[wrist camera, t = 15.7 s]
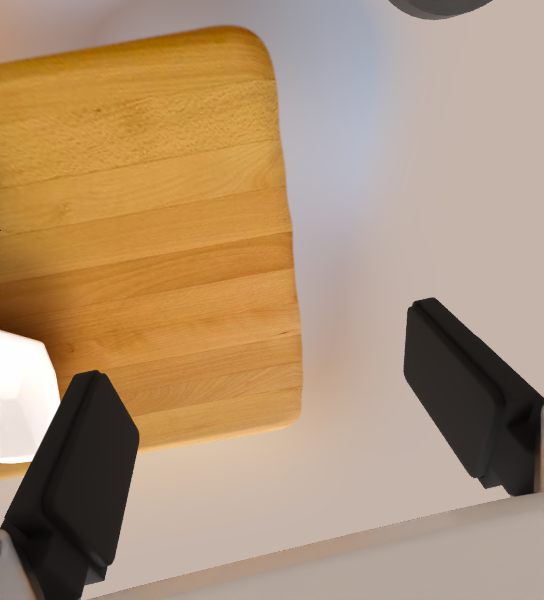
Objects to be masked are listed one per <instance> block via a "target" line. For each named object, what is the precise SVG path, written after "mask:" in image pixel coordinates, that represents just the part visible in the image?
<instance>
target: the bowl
mask: <svg viewBox="0 0 544 600" xmlns="http://www.w3.org/2000/svg"><path fill="white" fill-rule="evenodd" d="M60 403H61V402H60V396H59V390H58V384H57V378H56V373H55V370H54V368H53V365H52V363H51V360H50V358H49V355H48V353H47V350H46V348H45V345H44V344H43V342H41V341H37V340H34V339H30V338H27V337H23V336H20V335H16V334H13V333H9V332H6V331H3V330H0V463H20V462H29V461H32V460H33V458H34V456H35V454H36V452H37V450H38V448H39V446H40V444H41V442H42V440H43V438H44V435H45V433H46V431H47V429H48V427H49V425H50V423H51V421H52V419H53V417H54V415H55V413H56V411H57V409H58V407H59V405H60Z"/></svg>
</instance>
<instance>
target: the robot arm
mask: <svg viewBox="0 0 544 600" xmlns="http://www.w3.org/2000/svg"><path fill="white" fill-rule="evenodd" d="M404 376H405V378H406V380H407V382H408V384H409V385H410V387H411V388H412V390H413V391H414V393H415V394H416V396H417V397H418V399H419V400H420V402H421V403H422V405H423V406H424V408H425V409H426V411H427V412H428V413H429V415H430V417H431V418H432V420H433V421H434V423H435V424H436V426H437V427H438V428H439V430H440V432H441V433H442V435H443V436H444V438H445V439H446V441H447V442H448V444H449V445H450V447H451V448H452V450H453V451H454V453H455V454H456V455H457V457H458V459H459V460H460V462H461V463H462V465H463V466H464V468H465V469H466V470H467V472H468V473H469V475H470V476H471V477H473V478H478V479H479V481H480V482H481V484H482V485H483V487H484V488H485V489H487V488H491V487H495V486H500V485H502V486H503V487H504V489H505V490H506V491H507V493H508V494H510V496H511V497H510V498H507V499H502V500H497V501H493V502H488V503H483V504H479V505H475V506H470V507H465V508H460V509H456V510H451V511H447V512H443V513H439V514H434V515H430V516H426V517H421V518H417V519H413V520H409V521H405V522H400V523H396V524H392V525H388V526H384V527H379V528H375V529H371V530H367V531H363V532H358V533H354V534H350V535H346V536H341V537H337V538H333V539H329V540H325V541H321V542H317V543H312V544H308V545H304V546H300V547H296V548H292V549H288V550H283V551H279V552H275V553H271V554H267V555H263V556H259V557H255V558H251V559H247V560H243V561H238V562H234V563H230V564H226V565H222V566H218V567H214V568H210V569H206V570H202V571H198V572H194V573H190V574H186V575H182V576H178V577H174V578H170V579H165V580H161V581H157V582H153V583H149V584H145V585H141V586H137V587H133V588H129V589H126V590H122V591H118V592H115V593H111V594H107V595H103V596H99V597H96V598H92V599H89V600H544V398H543V397H542V396H541V395H540V394H539V393H538V392H537V391H536V390H535V389H534V388H533V387H531V386H530V385H529V384H528V383H527V382H526V381H525V380H524V379H523V378H522V377H521V376H520V375H519V374H517V373H516V372H515V371H514V370H513V369H512V368H511V367H510V366H509V365H508V364H507V363H506V362H505V361H503V360H502V359H501V358H500V357H499V356H498V355H497V354H496V353H495V352H494V351H493V350H492V349H491V348H489V347H488V346H487V345H486V344H485V343H484V342H483V341H482V340H481V339H480V338H479V337H477V336H476V335H475V334H473V333H472V332H471V331H470V330H469V329H468V328H467V327H466V326H465V325H464V324H463V323H461V322H460V321H459V320H458V319H457V318H456V317H455V316H454V315H453V314H452V313H451V312H450V311H448V309H447V308H445V307H444V306H443V305H442V304H441V303H440V302H439V301H438V300H437V299H435V298H427V299H423V300H418V301H415V302H413V305H412V307H409V308H408V312H407V326H406V342H405V356H404ZM138 445H139V431H138V429H137V427H136V425H135V424H134V422H133V420H132V418H131V417H130V415H129V413H128V411H127V410H126V408H125V406H124V404H123V403H122V401H121V399H120V397H119V396H118V394H117V392H116V390H115V389H114V387H113V385H112V383H111V382H110V380H109V378H108V376H107V375H106V374H105V373H102V374H101V373H100V372H99V371H98V370H93V371H88V372H84V373H79V374H76V375H74V377H73V378H72V381H71V383H70V385H69V387H68V389H67V391H66V393H65V395H64V397H63V399H62V401H61V403H60V405H59V407H58V409H57V411H56V413H55V415H54V417H53V419H52V421H51V423H50V425H49V427H48V429H47V431H46V433H45V435H44V438H43V440H42V442H41V444H40V446H39V448H38V450H37V452H36V454H35V456H34V458H33V460H32V462H31V464H30V466H29V468H28V470H27V472H26V474H25V476H24V478H23V480H22V482H21V484H20V486H19V488H18V490H17V493H16V495H15V497H14V499H13V501H12V503H11V505H10V507H9V509H8V511H7V513H6V515H5V517H4V518H5V519H4V521H3V523H2V525H1V527H0V600H81V599H80V598H81V596H82V592H83V588H84V585H88V584H93V583H97V582H101V581H104V580H105V575H106V571H107V566H109V565H111V564H112V563H113V560H114V558H115V554H116V549H117V544H118V540H119V535H120V530H121V525H122V521H123V516H124V511H125V507H126V502H127V497H128V492H129V488H130V483H131V478H132V474H133V469H134V464H135V459H136V455H137V450H138Z"/></svg>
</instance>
